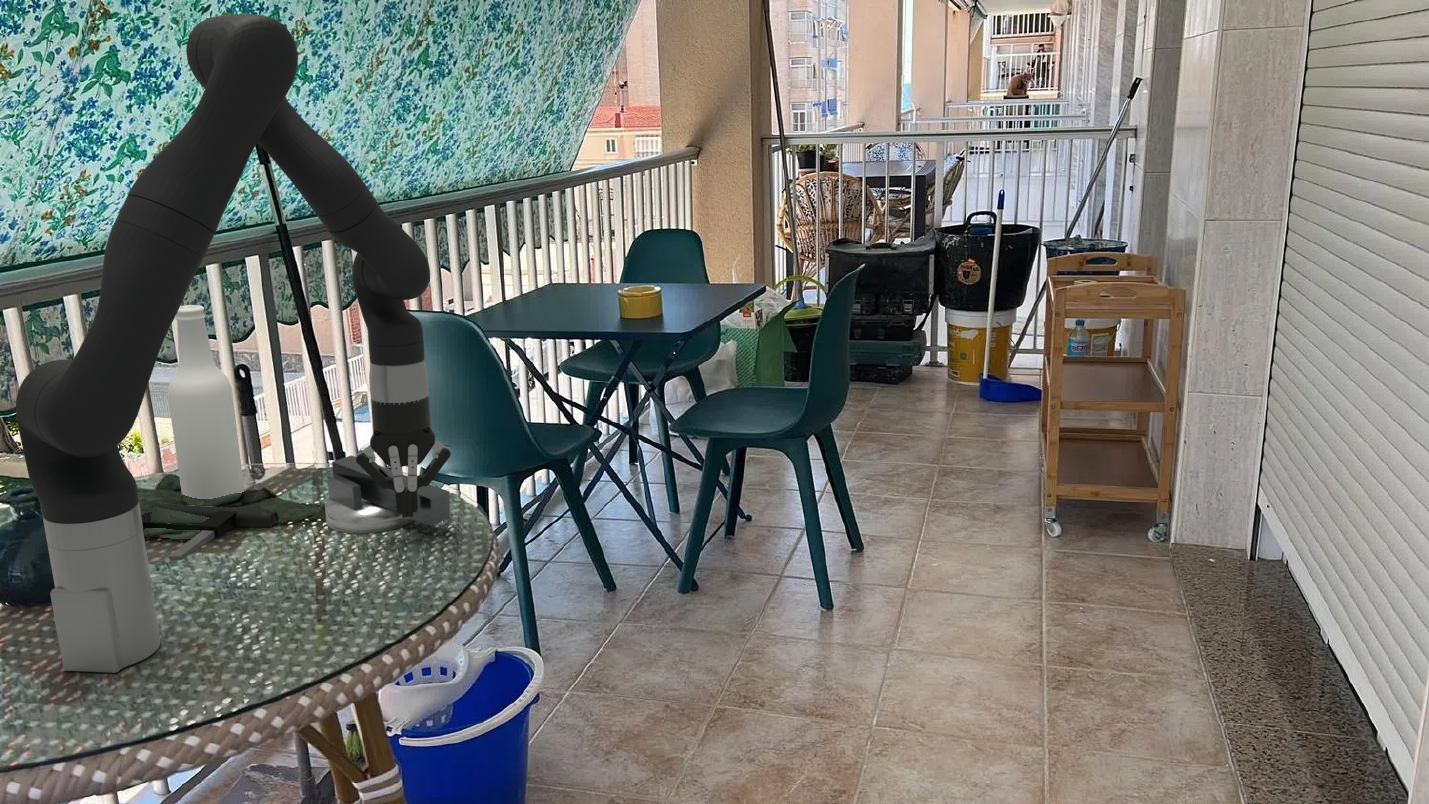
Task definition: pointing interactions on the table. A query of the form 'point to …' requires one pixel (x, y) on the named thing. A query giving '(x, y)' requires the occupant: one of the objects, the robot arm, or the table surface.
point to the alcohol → (203, 415)
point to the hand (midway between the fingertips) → (408, 515)
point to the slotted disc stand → (357, 510)
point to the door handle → (211, 523)
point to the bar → (429, 497)
